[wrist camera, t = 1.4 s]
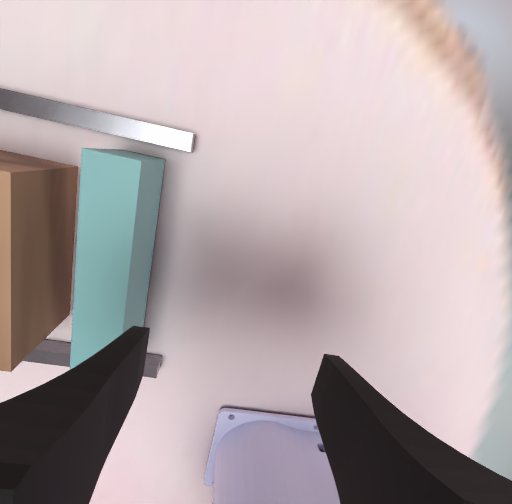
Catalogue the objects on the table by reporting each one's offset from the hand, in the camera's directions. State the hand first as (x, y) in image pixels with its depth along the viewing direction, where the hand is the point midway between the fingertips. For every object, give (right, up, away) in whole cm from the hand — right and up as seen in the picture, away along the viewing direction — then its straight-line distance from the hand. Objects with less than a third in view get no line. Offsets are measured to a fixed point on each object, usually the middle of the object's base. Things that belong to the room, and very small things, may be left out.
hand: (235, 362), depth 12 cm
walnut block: (-13, +5, +7) cm, 16 cm away
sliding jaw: (-7, +4, +8) cm, 11 cm away
